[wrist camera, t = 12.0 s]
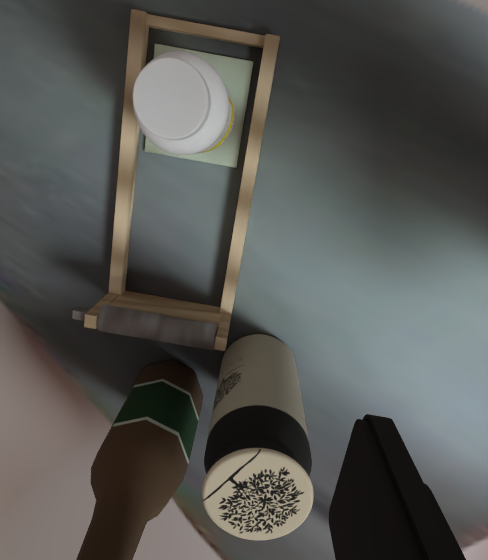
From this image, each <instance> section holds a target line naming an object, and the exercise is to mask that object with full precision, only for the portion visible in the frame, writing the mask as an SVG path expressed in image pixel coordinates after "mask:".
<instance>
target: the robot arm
mask: <svg viewBox="0 0 488 560" xmlns="http://www.w3.org/2000/svg"><path fill="white" fill-rule="evenodd" d="M329 526H330V531H331V537H332V542H333V548H334V553H335V558H336V560H466V559H465V557H464V555H463V553H462V551H461V549H460V547H459V545H458V543H457V541H456V539H455V537H454V535H453V533H452V531H451V529H450V527H449V525H448V523H447V521H446V519H445V517H444V515H443V513H442V511H441V509H440V507H439V505H438V503H437V501H436V499H435V497H434V495H433V493H432V491H431V490H430V488H429V487H428V486H427V485H426V484H424V483H423V481H422V479H421V477H420V475H419V473H418V471H417V469H416V467H415V465H414V463H413V461H412V459H411V457H410V455H409V452H408V450H407V448H406V446H405V444H404V442H403V440H402V438H401V436H400V434H399V432H398V430H397V428H396V426H395V424H394V422H393V421H392V419H390V418H386V417H380V416H374V415H368V414H367V415H365V416H364V418H363V420H361V419H357V420H356V421H355V424H354V427H353V430H352V434H351V437H350V441H349V444H348V448H347V451H346V454H345V458H344V461H343V465H342V468H341V472H340V475H339V478H338V482H337V485H336V489H335V492H334V496H333V499H332V502H331V506H330V511H329Z"/></svg>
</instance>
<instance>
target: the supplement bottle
mask: <svg viewBox="0 0 488 560" xmlns="http://www.w3.org/2000/svg"><path fill="white" fill-rule="evenodd" d="M133 109H134V114H135V118H136V120H137V123H138V125H139V127H140V129H141V131H142V132H143V134H144V135H145V136H146V137H147V139H148V140H149V141H150V142H152V143H153V144H154V145H155V146H157V147H158V148H160V149H162V150H164V151H166V152H169V153H173V154H178V155H189V154H197V153H205V152H209V151H211V150H214V149H216V148H217V147H219V146H220V145H221V144H223V142H224V141H225V140H226V139H227V138H228V136H229V135H230V133H231V131H232V128H233V125H234V120H235V108H234V103H233V100H232V97H231V95H230V93H229V91H228V89H227V87H226V86H225V84H224V82H223V80H222V78H221V76H220V74H219V73H218V72H217V70H216V69H215V68H214V67H213V66H212V65H211V64H210V63H209V62H208V61H206V60H205V59H203V58H202V57H200V56H198V55H196V54H193V53H189V52H184V51H172V52H167V53H164V54H162V55H159V56H158V57H156V58H154V59H153V60H152V61H150V62H149V63H148V64H147V65H146V66H145V67H144V68H143V69H142V70H141V72H140V73H139V75H138V77H137V78H136V81H135V84H134V88H133Z"/></svg>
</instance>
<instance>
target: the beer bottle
mask: <svg viewBox="0 0 488 560" xmlns="http://www.w3.org/2000/svg"><path fill="white" fill-rule="evenodd" d="M202 400H203V394H202V391H201V388H200V385H199V382H198V379H197V376H196V373H195V372H194V371H192V370H190V369H188V368H187V367H185V366H183V365H181V364H179V363H177V362H175V361H173V360H170V361H165V362H161V363H156V364H152V365H147V366H146V367H145V368H144V370H143V371H142V373H141V374H140V376H139V378H138V379H137V381H136V383H135V385H134V386H133V388H132V390H131V392H130V393H129V395H128V397H127V399H126V401H125V403H124V405H123V406H122V408H121V410H120V412H119V414H118V416H117V417H116V419H115V421H114V423H113V425H112V427H111V429H110V431H109V433H108V435H107V436H106V438H105V440H104V442H103V443H102V445H101V447H100V449H99V451H98V453H97V455H96V458H95V460H94V462H93V465H92V467H91V485H92V488H93V492H94V495H95V498H96V504H95V508H94V513H93V517H92V520H91V523H90V525H89V528H88V531H87V533H86V536H85V539H84V541H83V544H82V546H81V549H80V552H79V554H78V557H77V560H132V559H133V557H134V554H135V551H136V549H137V546H138V543H139V541H140V538H141V536H142V533H143V530H144V528H145V525H146V523H147V522H148V521H149V520H151V519H153V518H154V517H156V516H158V515H159V513H160V512H161V511H162V510H163V508H164V507H165V506H166V504H167V503H168V502H169V500H170V499H171V497H172V496H173V494H174V493H175V491H176V490H177V488H178V487H179V485H180V484H181V482H182V481H183V478H184V475H185V472H186V469H187V466H188V463H189V459H190V454H191V450H192V446H193V441H194V437H195V433H196V428H197V424H198V419H199V415H200V411H201V406H202Z"/></svg>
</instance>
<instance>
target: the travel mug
mask: <svg viewBox="0 0 488 560" xmlns="http://www.w3.org/2000/svg"><path fill="white" fill-rule="evenodd" d="M204 465H205V470H206V474H207V475H206V477H205V480H204V483H203V487H202V498H203V503H204V506H205V509H206V511H207V513H208V515H209V516H210V518H211V519H212V520H213V521H214V522H215V523H216V524H217V525H218V526H219V527H220V528H222V529H223V530H225V531H226V532H228V533H230V534H232V535H234V536H237V537H240V538H244V539H249V540H269V539H274V538H278V537H281V536H284V535H286V534H288V533H290V532H292V531H293V530H295V529H296V528H297V527H298V526H300V525H301V524H302V523H303V521H304V520H305V519H306V518H307V516H308V514H309V512H310V510H311V507H312V504H313V487H312V483H311V480H310V478H309V475H310V472H311V466H312V460H311V453H310V447H309V441H308V435H307V429H306V423H305V417H304V411H303V405H302V399H301V393H300V387H299V381H298V375H297V369H296V363H295V359H294V356H293V354H292V352H291V351H290V349H289V348H288V347H287V346H286V345H285V344H284V343H283V342H281V341H280V340H278V339H276V338H274V337H271V336H268V335H262V334H254V335H248V336H245V337H242V338H240V339H238V340H237V341H235V342H234V343H232V344H231V345H230V346H229V348H228V349H227V350H226V352H225V354H224V356H223V359H222V363H221V368H220V374H219V379H218V385H217V390H216V396H215V401H214V407H213V412H212V418H211V423H210V429H209V434H208V440H207V445H206V451H205V457H204Z"/></svg>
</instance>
